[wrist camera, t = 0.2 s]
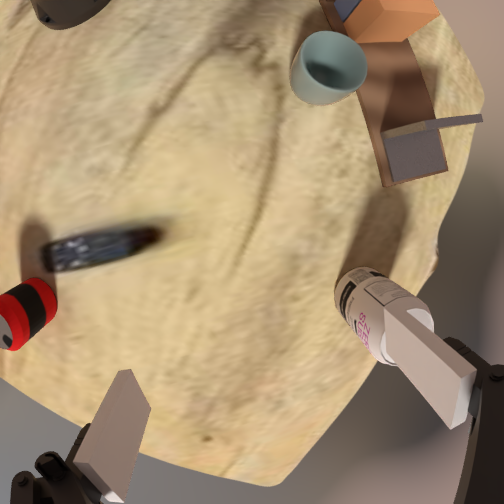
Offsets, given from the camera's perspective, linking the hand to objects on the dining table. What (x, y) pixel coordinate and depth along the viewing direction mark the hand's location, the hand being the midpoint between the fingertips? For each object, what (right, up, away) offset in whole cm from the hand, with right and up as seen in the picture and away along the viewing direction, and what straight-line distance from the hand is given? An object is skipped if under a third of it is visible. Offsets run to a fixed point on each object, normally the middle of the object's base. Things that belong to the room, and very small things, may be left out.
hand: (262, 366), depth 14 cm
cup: (+8, +28, +23) cm, 37 cm away
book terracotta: (+17, +38, +20) cm, 46 cm away
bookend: (+23, +20, +24) cm, 38 cm away
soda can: (-34, -2, +27) cm, 44 cm away
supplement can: (+15, 0, +29) cm, 33 cm away
